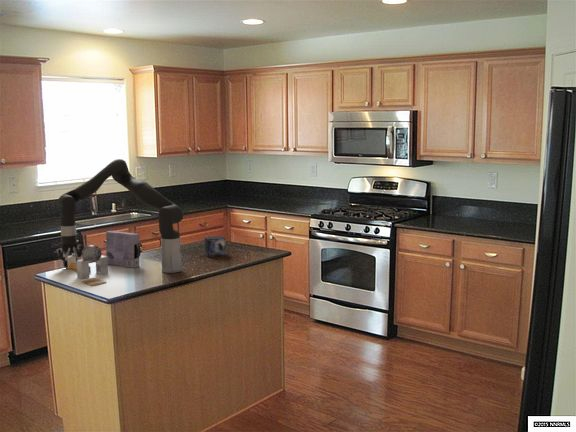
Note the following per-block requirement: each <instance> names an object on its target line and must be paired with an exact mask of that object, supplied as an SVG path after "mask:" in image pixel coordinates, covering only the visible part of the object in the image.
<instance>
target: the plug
mask: <svg viewBox="0 0 576 432" xmlns="http://www.w3.org/2000/svg"><path fill="white" fill-rule="evenodd" d="M67 263H68V268H67V269H70V270H74V271H77V264H76V257H75V256H73V255H72V254H71V255H69V256H68V258H67ZM91 272H92V271H91V266H90V265H89V274H90V273H91Z"/></svg>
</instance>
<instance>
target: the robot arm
mask: <svg viewBox="0 0 576 432" xmlns="http://www.w3.org/2000/svg"><path fill="white" fill-rule="evenodd" d="M110 177H111V178H112V179H113V180H114V181H115V182H117V184H120V185H121V186H123V187H124V188H125V189H127V190H128V191H129V192H130V193H131V194H132V195H133V196H135V198H137V199H138V201H140V202H142V204H145V205H146V206H147V205H148V206H150V207H152V208H154V209H155V208H156V209H157V210H158V215H157V218H158V230H159V234H160V238H161V239H160V242H161V245H160V246H161V269H162V270H161V272H163V273H166V274H168V273H169V274H175V273H180V272H182V271H183V263H182V262H183V261H182V256H183V255H182V252H181V235H180V234H181V233H180V231H178V230H176V229H174V226H173V225H174V224H177V223H180V222H181V221H183V219H184V212H183V210H182V209H181V207H180V206H178V205H177V204H176V203H174V202H172V200H171V201H170V200H169V199H168V198H167V197H165V196H164V195H162V194H161V192H159V191H158V190H156V189H155V188H154V187H153V186H151V184H149V183H148V182H147V181H144V180H139V179H136V178H135V177H134V175H132V173H130V171H129V167H128V163H127V162H126V160H124V159H122V158H118V159H116V158H115V159H114V160H112V161H111V162H110V163H108V164H107V165H105V167H104V168H102V169H101V170H100V171H99V172H97V173H96V174H95V175H93V177H92V178H90V179H89V180H87V181H86V182H84V183H82V184H80V185H79V186H77V187H76V188H74V189H71V190H70V191H68V192H65V193H63V194H62V195H60V197H59V198H58V199H57V204H58V206H59V207H60V208H61V215H60V240H61V241H60V242H61V247H60V248H56V249H55V252H56V254H57V257H58V259H59V260H60V261H62V265H63V267H64V268H65V269H68V263H67V258H68V256H70V254H71V255H72V256H75V257H76V260H79V258H80V257H82V250H83V248H84V246H83V245H82V244H78V236H77V233H78V232H77V226H76V212H77V211H76V210H77V202H79V201H84V200H86V199H87V198H90V197H91V196H92V195H94V194H95V193H97V191H99V189H100V188H101V187H102V185H103V184H104V182H106V181H107V180H108V179H109V178H110ZM62 252H63V253H62ZM76 264H77V262H76Z"/></svg>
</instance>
